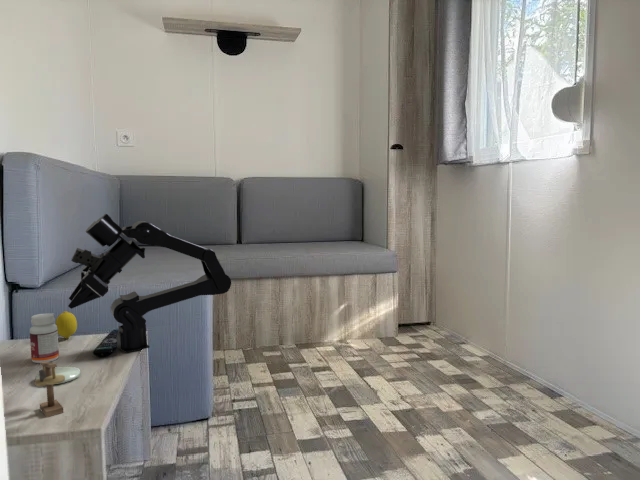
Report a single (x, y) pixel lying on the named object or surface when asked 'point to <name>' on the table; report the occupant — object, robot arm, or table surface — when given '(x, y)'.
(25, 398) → the table surface
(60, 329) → the lemon
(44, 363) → the balance
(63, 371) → the dish
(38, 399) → the table surface
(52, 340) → the pill bottle
